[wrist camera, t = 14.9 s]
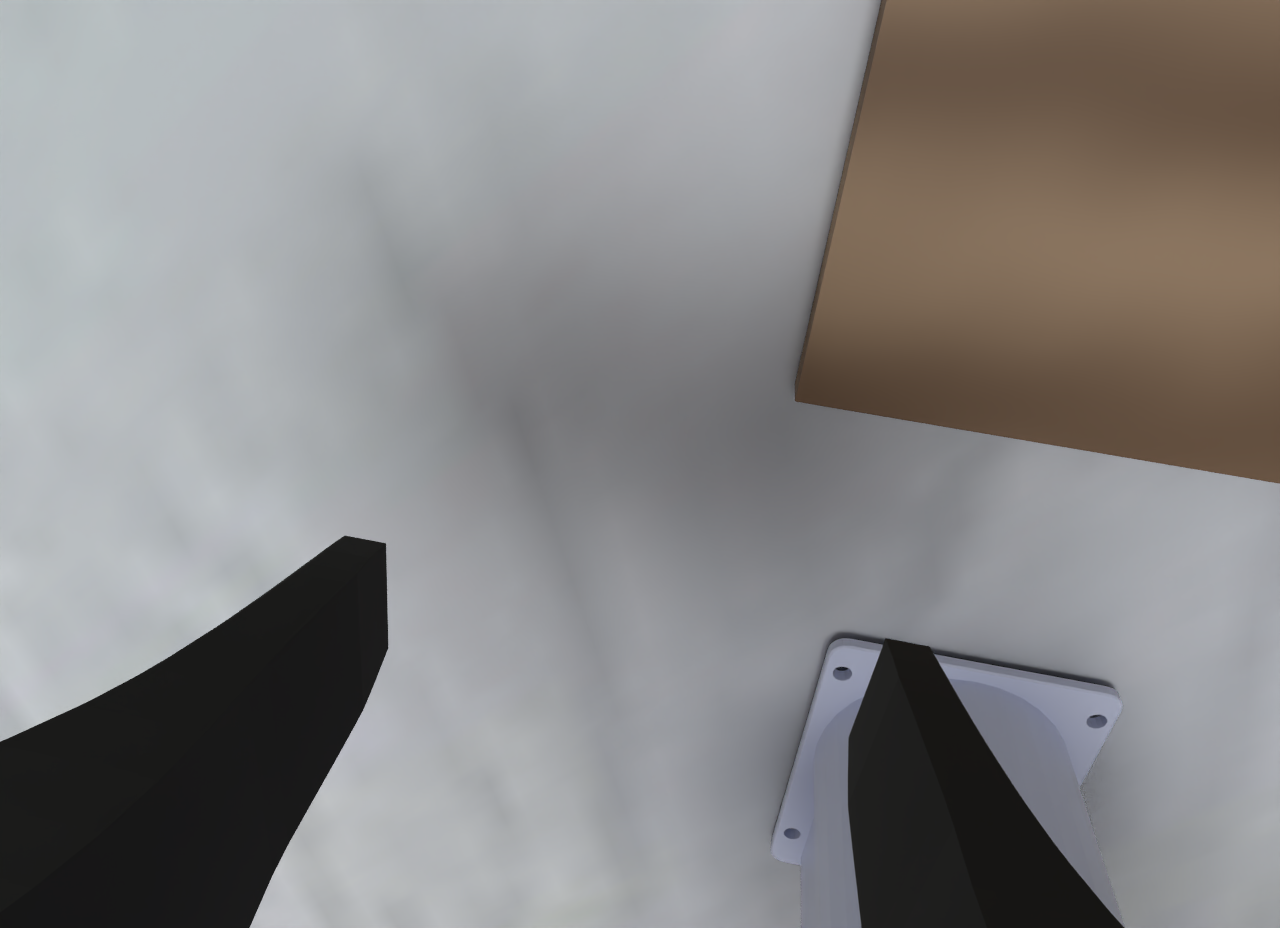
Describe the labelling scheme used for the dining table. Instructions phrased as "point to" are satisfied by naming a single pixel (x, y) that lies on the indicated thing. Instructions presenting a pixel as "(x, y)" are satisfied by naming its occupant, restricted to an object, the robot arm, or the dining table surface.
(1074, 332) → the board
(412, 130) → the dining table surface
